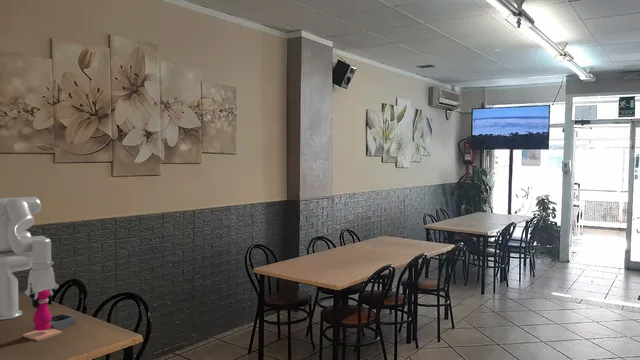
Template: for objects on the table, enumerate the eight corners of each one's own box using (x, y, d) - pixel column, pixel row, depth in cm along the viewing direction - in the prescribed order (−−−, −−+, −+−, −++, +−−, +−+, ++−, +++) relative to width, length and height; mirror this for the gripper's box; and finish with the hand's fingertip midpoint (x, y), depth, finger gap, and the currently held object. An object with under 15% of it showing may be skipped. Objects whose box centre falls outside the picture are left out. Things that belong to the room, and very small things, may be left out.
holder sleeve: (40, 326, 228) (40, 319, 227) (62, 320, 237) (62, 313, 237) (54, 330, 222) (54, 323, 222) (75, 324, 232) (75, 316, 231)
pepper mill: (43, 331, 212) (42, 286, 212) (29, 330, 214) (28, 285, 213) (55, 326, 219) (55, 283, 219) (41, 325, 221) (41, 282, 220)
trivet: (23, 336, 215) (23, 334, 215) (47, 329, 224) (47, 327, 224) (37, 341, 209) (37, 338, 209) (61, 333, 219) (61, 331, 219)
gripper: (55, 261, 225) (55, 300, 226) (17, 268, 210) (17, 309, 211) (65, 263, 221) (65, 302, 222) (27, 270, 206) (27, 312, 207)
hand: (42, 305), depth 216 cm, fingers closed on pepper mill, 5 cm apart
